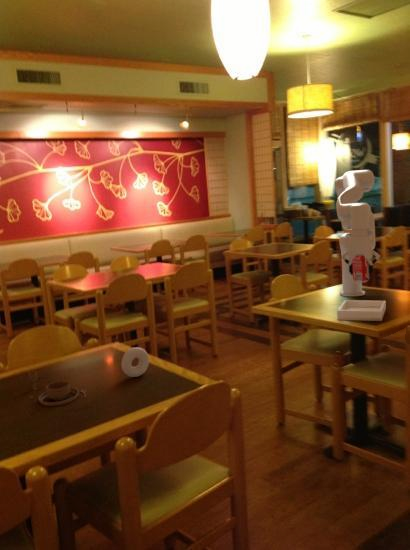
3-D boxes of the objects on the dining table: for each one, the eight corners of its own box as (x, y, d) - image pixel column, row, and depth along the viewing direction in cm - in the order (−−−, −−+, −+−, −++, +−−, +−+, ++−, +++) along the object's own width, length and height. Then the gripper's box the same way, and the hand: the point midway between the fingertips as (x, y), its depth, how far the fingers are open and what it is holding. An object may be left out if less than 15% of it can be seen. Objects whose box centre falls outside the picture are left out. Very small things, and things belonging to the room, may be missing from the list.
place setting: (28, 413, 154) (26, 393, 154) (28, 390, 173) (26, 372, 172) (89, 401, 160) (87, 383, 159) (83, 380, 179) (81, 363, 178)
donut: (126, 381, 172) (123, 352, 171) (120, 379, 175) (117, 350, 174) (152, 373, 178) (149, 344, 177) (147, 371, 181) (144, 342, 179)
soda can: (368, 279, 234) (367, 252, 232) (371, 282, 227) (370, 254, 225) (351, 280, 235) (350, 253, 233) (354, 283, 228) (353, 255, 226)
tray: (344, 308, 246) (344, 300, 245) (385, 309, 239) (385, 300, 238) (337, 319, 228) (337, 310, 227) (381, 320, 221) (381, 311, 220)
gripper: (382, 231, 227) (383, 272, 230) (340, 233, 234) (342, 272, 237) (380, 233, 221) (381, 275, 223) (337, 234, 228) (339, 275, 230)
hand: (361, 273), depth 230 cm, fingers closed on soda can, 7 cm apart
